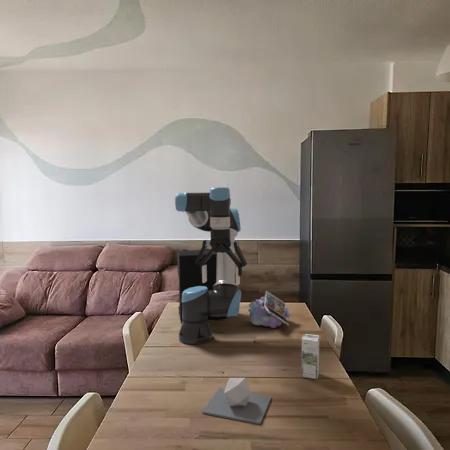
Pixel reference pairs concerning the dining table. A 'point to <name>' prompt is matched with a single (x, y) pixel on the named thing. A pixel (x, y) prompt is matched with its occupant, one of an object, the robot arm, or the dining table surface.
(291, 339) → the dining table surface
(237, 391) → the die
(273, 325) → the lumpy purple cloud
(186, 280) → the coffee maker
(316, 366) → the syrup box
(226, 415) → the mat
